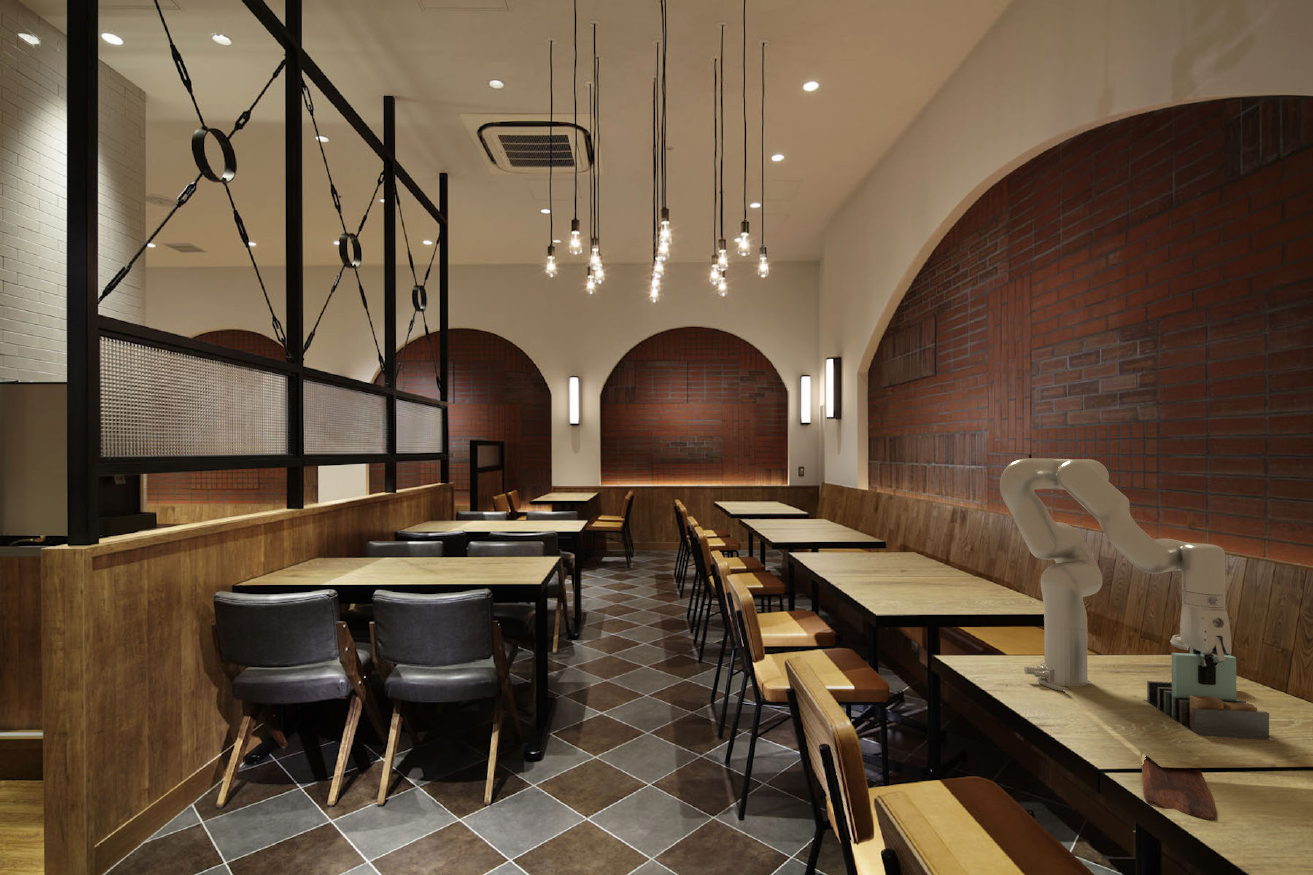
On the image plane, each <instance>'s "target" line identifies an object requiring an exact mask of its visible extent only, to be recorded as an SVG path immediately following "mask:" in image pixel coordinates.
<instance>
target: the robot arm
mask: <svg viewBox="0 0 1313 875" xmlns="http://www.w3.org/2000/svg"><path fill="white" fill-rule="evenodd" d="M1109 480H1110V474H1109V471H1108V469H1107V468H1106V466H1105V465H1104V464H1102V462H1100V461H1098V460H1096V459H1091V458H1084V459H1083V458H1082V459H1081V458H1078V459H1077V458H1076V459H1074V458H1073V459H1071V458H1066V459H1065V458H1035V457H1034V458H1021V459H1017V460H1015V461H1012V462H1010V463H1009V464H1008V465H1007V466H1006V467H1005V469H1004V470H1003V472H1002V474H1001V476H1000V480H999V491H1000V495H1001V498H1002V499H1003V501H1004V502H1003V503H1004V504H1005V505H1006V507H1007V509H1008V511H1009V513H1010V514H1011V516H1012V518H1013V520H1014V522H1015V525H1016V526H1017V528H1018V530H1019V532H1020V535H1021V536H1022V539H1023V541H1024V542H1025V545H1026V547H1027V549H1028V550H1029V552H1030V553H1031V554H1032V555H1033V556H1034V558H1036V559H1039V560H1044V561H1048V560H1050V561H1051V560H1054V562H1055V563H1054V564H1051V565H1050V566H1048V567H1046V568H1045V570H1043V572H1042V574H1041V577H1040V590H1041V594H1042V600H1043V601H1042V602H1043V616H1044V617H1043V621H1044V622H1043V623H1044V625H1043V627H1044V628H1043V629H1044V636H1043V637H1044V640H1043V642H1044V646H1043V647H1044V652H1043V653H1044V660H1043V661H1044V662H1040V663H1039V664H1040V665H1037V666H1036V667H1034V666H1024V669H1023V671H1024V674H1025V675H1033V676H1034V677H1035V678H1037V681H1038V683H1039V684H1041V685H1042V686H1044V687H1045V688H1046V687H1047V688H1049V689H1051V690H1056V691H1061V692H1065V691H1072V689H1071V688H1070V687H1084V686H1087V685H1088V684H1093V681H1091V680H1089V679H1088V678H1089V677H1088V672H1089V671H1088V616H1087V615H1088V614H1087V609H1086V607H1085V603H1084V597H1085V598H1086V597H1089V596H1093V595H1095V594H1097V593H1098V592H1099V591H1100V590H1101V588H1102V586H1103V581H1104V580H1103V574H1102V572H1101V569H1100V567H1099V565H1098V563H1097V562H1096V560H1095V558H1094V555H1093V554H1092V552H1091V550H1090V549H1089V546H1088V545H1087V543H1086V541H1085V540H1084V537H1083V536H1082V534H1080V532H1079V531H1078V530H1077V529H1076V528H1075V527H1073V526H1072V525H1070V524H1069V523H1068V524H1067V523H1065V522H1059V521H1058V522H1055V520H1054V519H1053V517H1052V516H1051V514H1050V512H1049V510H1048V508H1047V506H1046V505H1045V503H1044V502H1043V501H1042V500H1041V498H1040V497H1039V496H1038V495H1037V494H1036V492H1035V490H1047V489H1048V490H1064V491H1066V492H1067V494H1069V495H1070V497H1072V498H1073V499H1074V500H1076V502H1078V503H1079V504H1080V505H1081V506H1082V508H1084V509H1085V510H1086V511H1087V512H1088V513H1089V514H1090V515H1091V516H1092V517H1093V518H1094V519H1095V520H1096V521H1097V522H1098V523H1099V527H1100V529H1101V530H1102V532H1103V533H1104V535H1105V538H1106V539H1107V540H1108V541H1109V543H1110V544H1111V545H1112V546H1113V548H1114V549H1116V550H1117V551H1118V552H1119V554H1121V555H1122V556H1123V557H1124V559H1126V560H1127V561H1128V562H1129V563H1130V564H1131V565H1133V566H1134V567H1135V568H1136V569H1138V570H1140V571H1142V572H1144V573H1147V574H1153V575H1157V574H1164V573H1166V572H1169V573H1170V572H1176V571H1181V604H1182V606H1181V612H1180V624H1179V625H1180V628H1179V633H1180V634H1179V635H1180V637H1181V641H1182V642H1183V643H1184V647H1185V648H1186V649H1187V650H1188V651H1189V653H1190V654H1201V657H1200V664H1201V665H1198V682H1199V683H1200V684H1204V685H1215V684H1216V668H1217V667H1218V663H1221V662H1225V658H1224V655H1227V656H1229V655H1231V654H1232V636H1231V634H1232V633H1231V628H1230V627H1231V626H1230V619H1229V615H1228V612H1227V611H1228V610H1226V552H1225V551H1224V548H1223V547H1222V546H1220V545H1216V544H1211V543H1202V542H1201V543H1198V542H1186V541H1184V540H1183V541H1182V540H1177V539H1173V538H1166V537H1165V538H1157V539H1156V538H1155V539H1153V538H1152V537H1151V536H1150V535H1149V534H1148V533H1147V532H1145V530H1144V529H1142V528H1141V527H1140V526H1139V524H1138V523H1137V522H1136V521H1135V520H1134V518H1133V516H1132V515H1131V512H1130V500H1129V498H1128V497H1127V496H1126V495H1125V494H1124V493H1122V492H1121V491H1120V490H1119V489H1118V488H1116V487H1115V485H1113V484H1112V483H1111V482H1110V481H1109ZM1207 656H1212V657H1208V658H1207Z"/></svg>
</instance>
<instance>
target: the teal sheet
mask: <svg viewBox="0 0 1313 875" xmlns="http://www.w3.org/2000/svg"><path fill="white" fill-rule="evenodd" d="M1200 657H1201V654H1187V653H1174V652H1171V682H1172V716H1173V696H1177V697H1190V696H1206V697H1216V698H1218V699H1233V700H1237V657H1235V656H1233V655H1231V654H1230V655H1229V656H1227V655H1224V658H1225V662H1221V663H1218V667H1217V668H1216V684H1215V685H1204V684H1200V683H1199V682H1198V665H1201V664H1200ZM1208 657H1212V656H1207V658H1208Z"/></svg>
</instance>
